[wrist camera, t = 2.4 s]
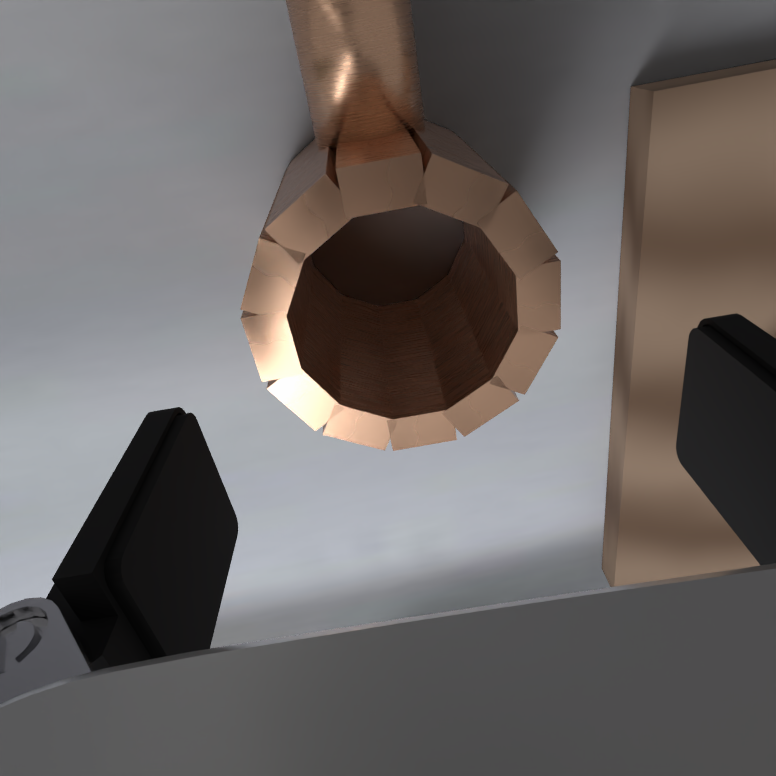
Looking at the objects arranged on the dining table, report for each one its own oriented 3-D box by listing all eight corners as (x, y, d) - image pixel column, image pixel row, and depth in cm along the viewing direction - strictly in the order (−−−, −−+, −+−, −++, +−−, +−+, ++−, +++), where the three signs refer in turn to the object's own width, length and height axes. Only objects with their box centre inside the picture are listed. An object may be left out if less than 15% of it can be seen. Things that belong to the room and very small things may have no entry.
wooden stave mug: (305, 344, 21) (291, 468, 15) (203, -25, 15) (114, -59, 9) (498, 310, 21) (560, 421, 15) (473, -79, 15) (561, -149, 9)
